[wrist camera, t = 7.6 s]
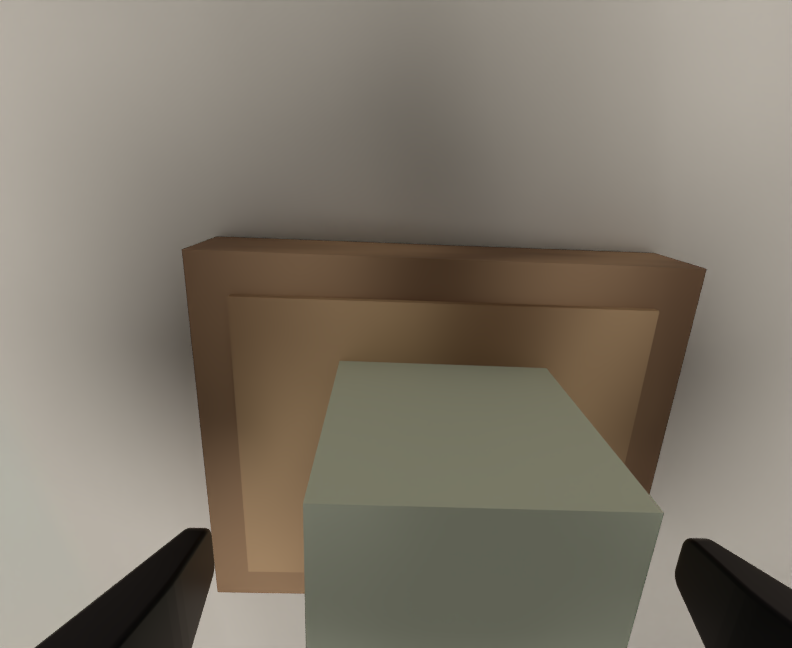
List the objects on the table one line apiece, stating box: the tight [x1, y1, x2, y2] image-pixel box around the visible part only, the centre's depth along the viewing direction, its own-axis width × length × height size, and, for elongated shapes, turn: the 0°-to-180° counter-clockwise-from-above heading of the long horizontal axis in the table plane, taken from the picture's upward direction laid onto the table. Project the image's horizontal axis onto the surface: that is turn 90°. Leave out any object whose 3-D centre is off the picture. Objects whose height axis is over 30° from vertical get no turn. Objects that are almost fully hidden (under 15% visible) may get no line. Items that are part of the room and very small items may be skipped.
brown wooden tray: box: [182, 237, 706, 594], centre depth 13 cm, size 12×10×2 cm
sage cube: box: [303, 361, 664, 648], centre depth 9 cm, size 5×5×5 cm
